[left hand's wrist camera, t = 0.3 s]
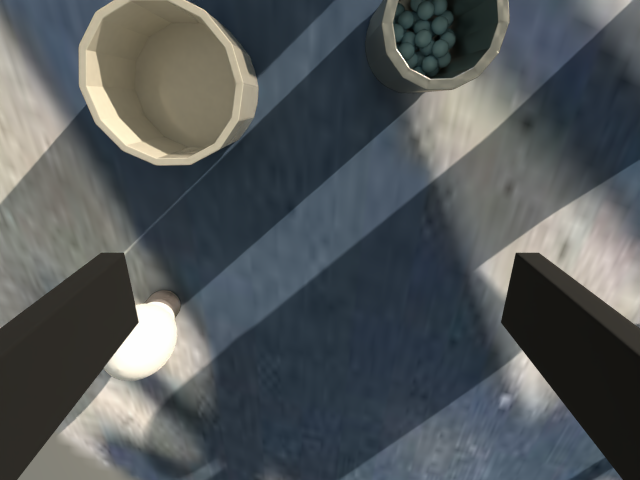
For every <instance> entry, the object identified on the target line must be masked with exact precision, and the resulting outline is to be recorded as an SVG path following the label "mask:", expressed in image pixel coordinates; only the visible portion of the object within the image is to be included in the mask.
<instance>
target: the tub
mask: <svg viewBox="0 0 640 480" xmlns="http://www.w3.org/2000/svg"><path fill="white" fill-rule="evenodd" d="M79 87H80V89H81V92H82V94H83V96H84V99H85V101H86V103H87V106H88V108H89V110H90V113H91V115H92V117H93V119H94V122H95V123H96V125H97V126H98V127H99V128H100V129H101V130H102V131H103V132H104V133H105V134H106V135H107V136H108V137H109V138H110V139H111V140H112V141H113V142H114V143H115V144H116V145H117V146H118V147H119V148H120V149H121V150H122V151H124V152H126V153H128V154H131V155H133V156H135V157H138V158H140V159H142V160H145V161H147V162H149V163H152V164H154V165H157V166H164V165H192V164H194V163H195V162H197V161H199V160H201V159H203V158H205V157H207V156H209V155H211V154H213V153H215V152H217V151H219V150H221V149H223V148H225V147H226V146H228V145H230V144H232V143H234V142H236V141H238V140H239V139H240V137H241V136H242V134H243V133H244V132H245V131H246V129H247V128H248V127H249V125H250V123H251V121H252V120H253V118H254V116H255V111H256V107H257V101H258V83H257V77H256V73H255V70H254V67H253V64H252V62H251V58H250V56H249V54H248V53H247V52H246V51H245V49H244V48H243V47H242V45H241V44H240V43H239V42H238V41H237V39H236V38H235V37H234V36H233V35H232V33H231V32H230V31H229V30H228V29H227V28H225V27H224V26H223V25H222V24H221V23H219V22H218V21H217V20H216V19H215V18H213V17H212V16H211V15H210V14H209V13H207V12H206V11H205V10H204V9H202V8H200V7H198V6H196V5H194V4H192V3H190V2H188V1H186V0H114V1H112V2H111V3H109V4H107V5H106V6H104V7H103V8H101V9H100V10H98V11H96V12H95V14H94V16H93V18H92V20H91V22H90V24H89V26H88V28H87V30H86V32H85V34H84V36H83V38H82V40H81V42H80V44H79Z"/></svg>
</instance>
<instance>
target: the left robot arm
mask: <svg viewBox="0 0 640 480" xmlns="http://www.w3.org/2000/svg"><path fill="white" fill-rule="evenodd" d="M138 323H139V320H138V316H137V311H136V306H135V301H134V297H133V292H132V287H131V283H130V278H129V273H128V269H127V264H126V259H125V255H124V253H100V254H99V255H98V256H96V257H95V258H94V259H92V260H91V261H90V262H88V263H87V264H86V265H84V266H83V267H82V268H80V269H79V270H78V271H76V272H75V273H74V274H72V275H71V276H70V277H68V278H67V279H66V280H64V281H63V282H62V283H60V284H59V285H58V286H56V287H55V288H54V289H52V290H51V291H50V292H48V293H47V294H46V295H44V296H43V297H42V298H40V299H39V300H38V301H36V302H35V303H34V304H32V305H31V306H30V307H28V308H27V309H26V310H24V311H23V312H22V313H20V314H19V315H18V316H16V317H15V318H14V319H12V320H11V321H10V322H8V323H7V324H6V325H4V326H3V327H2V328H0V480H17V479H18V478H19V477H20V475H21V474H22V473H23V471H24V470H25V469H26V468H27V466H28V465H29V464H30V462H31V461H32V460H33V458H34V457H35V456H36V455H37V453H38V452H39V451H40V449H41V448H42V447H43V446H44V444H45V443H46V442H47V440H48V439H49V438H50V436H51V435H52V434H53V433H54V431H55V430H56V429H57V428H58V426H59V425H60V424H61V422H62V421H63V420H64V418H65V417H66V416H67V415H68V413H69V412H70V411H71V409H72V408H73V407H74V406H75V404H76V403H77V402H78V400H79V399H80V398H81V397H82V395H83V394H84V393H85V391H86V390H87V389H88V388H89V386H90V385H91V384H92V382H93V381H94V380H95V378H96V377H97V376H98V375H99V373H100V372H101V371H102V369H103V368H104V367H105V366H106V364H107V363H108V362H109V360H110V359H111V358H112V357H113V355H114V354H115V353H116V351H117V350H118V349H119V348H120V346H121V345H122V344H123V342H124V341H125V340H126V338H127V337H128V336H129V335H130V333H131V332H132V331H133V329H134V328H135V327H136V326H137V324H138ZM501 323H502V324H503V326H504V327H505V328H506V329H507V331H508V332H509V333H510V335H511V336H512V337H513V338H514V340H515V341H516V342H517V344H518V345H519V346H520V348H521V349H522V350H523V351H524V353H525V354H526V355H527V357H528V358H529V359H530V360H531V362H532V363H533V364H534V366H535V367H536V368H537V369H538V371H539V372H540V373H541V375H542V376H543V377H544V378H545V380H546V381H547V382H548V384H549V385H550V386H551V388H552V389H553V390H554V391H555V393H556V394H557V395H558V397H559V398H560V399H561V400H562V402H563V403H564V404H565V406H566V407H567V408H568V409H569V411H570V412H571V413H572V415H573V416H574V417H575V418H576V420H577V421H578V422H579V424H580V425H581V426H582V428H583V429H584V430H585V431H586V433H587V434H588V435H589V437H590V438H591V439H592V440H593V442H594V443H595V444H596V446H597V447H598V448H599V449H600V451H601V452H602V453H603V455H604V456H605V457H606V458H607V460H608V461H609V462H610V464H611V465H612V466H613V468H614V469H615V470H616V471H617V473H618V474H619V475H620V477H621V478H622V479H623V480H640V328H638V327H637V326H636V325H634V324H633V323H632V322H630V321H629V320H628V319H626V318H625V317H624V316H622V315H621V314H620V313H618V312H617V311H616V310H614V309H613V308H612V307H610V306H609V305H608V304H606V303H605V302H604V301H602V300H601V299H600V298H598V297H597V296H596V295H594V294H593V293H592V292H590V291H589V290H588V289H586V288H585V287H584V286H582V285H581V284H580V283H578V282H577V281H576V280H574V279H573V278H572V277H570V276H569V275H568V274H566V273H565V272H564V271H562V270H561V269H560V268H558V267H557V266H556V265H554V264H553V263H552V262H550V261H549V260H548V259H546V258H545V257H544V256H542V255H541V254H540V253H516V255H515V259H514V264H513V269H512V273H511V278H510V283H509V287H508V292H507V297H506V301H505V306H504V311H503V316H502V320H501Z"/></svg>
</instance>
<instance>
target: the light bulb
mask: <svg viewBox="0 0 640 480" xmlns="http://www.w3.org/2000/svg"><path fill="white" fill-rule="evenodd" d="M135 306H136V311H137V316H138V320H139V323H138V324H137V326H136V327H135V328H134V329H133V331H132V332H131V333H130V335H129V336H128V337H127V338H126V340H125V341H124V342H123V344H122V345H121V346H120V348H119V349H118V350H117V351H116V353H115V354H114V355H113V357H112V358H111V359H110V360H109V362H108V363H107V364H106V366H105V367H104V370H105V371H106V372H107V373H108V374H109V375H110V376H112V377H114V378H116V379H119V380H124V381H135V380H139V379H143V378H145V377H148V376H150V375H151V374H153V373H155V372H156V371H158V370H159V369H160V368H161V367H162V366H163V365H164V364H165V363H166V362H167V360H168V359H169V358H170V356H171V354H172V352H173V350H174V348H175V345H176V341H177V327H176V323H175V321H174V320H175V317H176V316H177V314H178V313H179V311H180V307H181V305H180V300H179V298H178V297H177V296H176V295H175V294H174V293H172V292H170V291H166V290H161V291H157V292H155V293H153V294H152V295H151V296H150V297H149V298H148V300H147V301H146V302H145V303H144V304H139V305H135Z"/></svg>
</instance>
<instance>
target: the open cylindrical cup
mask: <svg viewBox="0 0 640 480" xmlns="http://www.w3.org/2000/svg"><path fill="white" fill-rule="evenodd" d="M410 1H411V0H383V1H382V2H381V4H380V5H379V7H378V8H377V10H376V11H375V13H374V14H373V16H372V17H371V19H370V23H369V26H368V30H367V34H366V41H365V48H366V57H367V60H368V64H369V66H370V68H371V70H372V72H373V74H374V75H375V76H376V78H377V79H378V80H379V81H380V82H381V83H382V84H383V85H385V86H386V87H388V88H390V89H392V90H395V91H397V92H399V93H420V92H432V91H443V90H452V89H455V88H457V87H459V86H461V85H463V84H465V83H467V82H469V81H471V80H473V79H475V78H477V77H478V76H480V75H481V73H482V72H483V71H484V70H485V69H486V67H487V66H488V65H489V64H490V63H491V61H492V60H493V59H494V58H495V57H496V56H497V54H498V53H499V51H500V48H501V45H502V42H503V39H504V36H505V33H506V30H507V27H508V24H509V4H508V0H447V4H448V6H447V9H446V10H448V11H451V12H452V13H453V17H454V20H453V23H452V25H451V26H450V27H448V28H450V29H452V30H453V31H454V33H455V36H456V42H455V45H454V46H453V47H452V48H450V49H449V50H448V52H449V53H450V54H451V58H452V59H451V62H450V64H449V65H448V66H446V67H444V68H440V69H439V72H438V74H437V75H436V76H434V77H428V76H426V77H425V76H424V75H422V74H420V73H418V72H416V71H414V70H412V69H413V68H411V69H410V68H409V66H408V65H407V63H406V62H405V60H404V59H403V57H402V56H401V54H400V53H399V51H398V50H397V47H396V44H397V45H398V44H400V43H396V40H395V34H394V27H393V21H394V17H395V13H396V9H397V5H398V3H400V4H402V5H403V6H404V7H405V11H406V10H408V11H411V12H412V11H413V10H412V9H411V6H410ZM436 17H438V16H435V15H434V16H433V17H431V18H429V19H427V20H428V21H433V20H434V19H435V18H436ZM396 23H397V24H398V21H397V22H396ZM409 31H410V32H413V33H414V29H411V28H408V29H407V32H409ZM438 36H439V35H437V34H436V35H435V36H434V37H432V39H433V40H434V41H435V42H436V41H438V40H439V39H438ZM418 51H420V49H418V50H416V51H415V52H418ZM414 68H415V67H414Z"/></svg>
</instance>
